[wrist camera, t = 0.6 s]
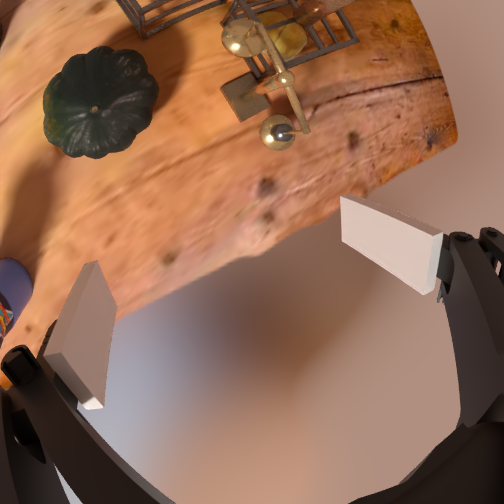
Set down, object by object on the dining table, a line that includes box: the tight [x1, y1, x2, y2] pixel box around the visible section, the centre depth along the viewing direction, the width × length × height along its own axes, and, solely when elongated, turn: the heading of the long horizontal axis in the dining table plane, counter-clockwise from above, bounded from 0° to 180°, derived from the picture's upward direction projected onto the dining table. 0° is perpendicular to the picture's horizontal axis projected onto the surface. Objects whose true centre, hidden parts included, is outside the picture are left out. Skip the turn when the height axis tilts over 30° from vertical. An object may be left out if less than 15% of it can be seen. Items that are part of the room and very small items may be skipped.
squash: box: [43, 46, 159, 159], centre depth 26 cm, size 14×15×15 cm
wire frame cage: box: [220, 0, 360, 83], centre depth 25 cm, size 12×14×19 cm
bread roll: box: [256, 11, 307, 61], centre depth 32 cm, size 8×9×4 cm
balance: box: [220, 19, 311, 151], centre depth 29 cm, size 18×5×16 cm, turn 30°
